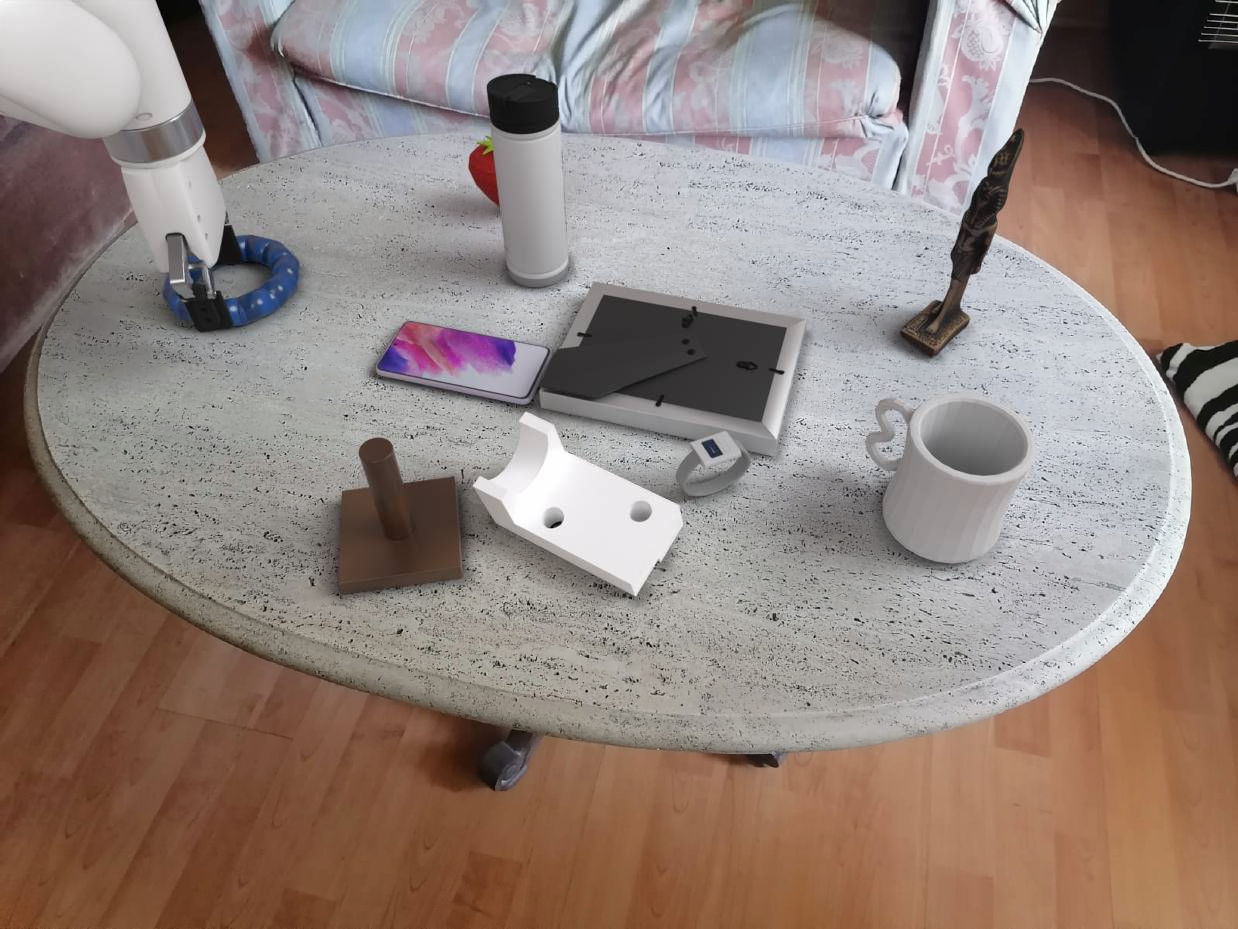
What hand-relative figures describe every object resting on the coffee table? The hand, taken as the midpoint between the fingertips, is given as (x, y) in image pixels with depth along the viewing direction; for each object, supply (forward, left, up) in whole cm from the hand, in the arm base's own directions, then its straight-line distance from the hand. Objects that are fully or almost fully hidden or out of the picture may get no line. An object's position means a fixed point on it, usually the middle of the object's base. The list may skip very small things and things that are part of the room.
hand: (222, 294), depth 89 cm
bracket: (+30, -31, -4) cm, 43 cm away
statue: (+66, -13, -4) cm, 67 cm away
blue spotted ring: (0, +5, -2) cm, 5 cm away
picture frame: (+41, -14, -4) cm, 43 cm away
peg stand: (+16, -29, -3) cm, 33 cm away
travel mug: (+30, +3, -4) cm, 30 cm away
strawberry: (+28, +14, -4) cm, 31 cm away
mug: (+57, -33, -4) cm, 66 cm away
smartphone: (+22, -10, -3) cm, 24 cm away
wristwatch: (+41, -28, -4) cm, 50 cm away
